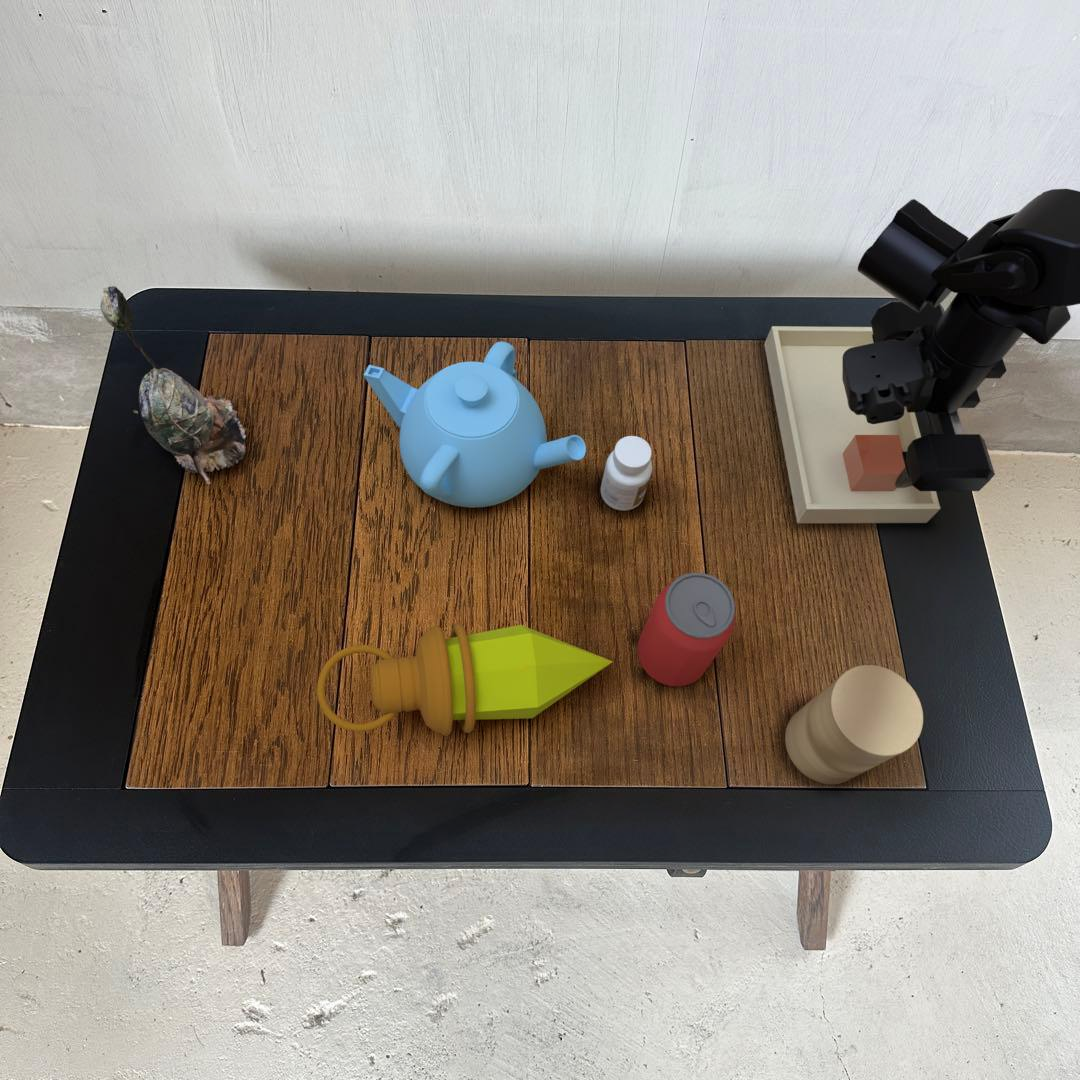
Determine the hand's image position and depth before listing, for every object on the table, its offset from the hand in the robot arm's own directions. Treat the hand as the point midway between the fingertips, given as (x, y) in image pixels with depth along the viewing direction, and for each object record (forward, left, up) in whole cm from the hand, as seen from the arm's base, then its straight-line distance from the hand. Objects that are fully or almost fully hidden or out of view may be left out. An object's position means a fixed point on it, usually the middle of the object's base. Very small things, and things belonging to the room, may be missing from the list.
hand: (889, 444), depth 82 cm
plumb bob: (+28, +37, -6) cm, 46 cm away
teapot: (+37, +14, -6) cm, 40 cm away
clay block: (0, 0, -5) cm, 5 cm away
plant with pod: (+62, +24, -6) cm, 67 cm away
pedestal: (-3, +29, -6) cm, 29 cm away
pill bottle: (+22, +12, -6) cm, 26 cm away
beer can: (+12, +26, -6) cm, 30 cm away
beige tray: (+4, -5, -6) cm, 8 cm away
